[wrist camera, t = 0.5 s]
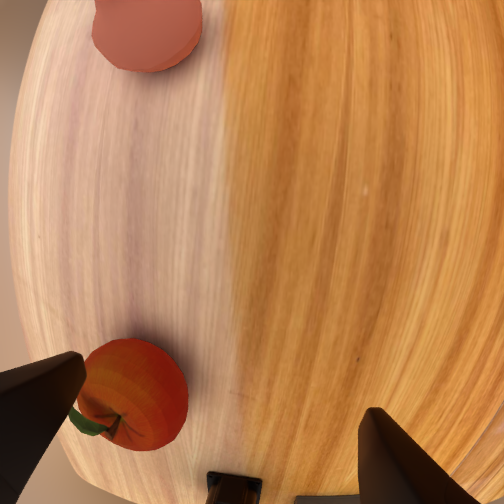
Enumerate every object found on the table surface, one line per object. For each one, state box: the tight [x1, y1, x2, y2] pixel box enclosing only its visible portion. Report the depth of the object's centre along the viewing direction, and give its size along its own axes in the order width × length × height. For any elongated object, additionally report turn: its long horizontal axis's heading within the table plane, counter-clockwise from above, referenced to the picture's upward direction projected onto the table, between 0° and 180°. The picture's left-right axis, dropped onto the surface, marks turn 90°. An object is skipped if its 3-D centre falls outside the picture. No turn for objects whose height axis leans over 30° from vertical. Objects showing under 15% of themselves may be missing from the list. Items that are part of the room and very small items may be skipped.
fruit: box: [68, 338, 188, 451], centre depth 20 cm, size 10×10×10 cm
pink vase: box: [92, 0, 202, 72], centre depth 13 cm, size 8×8×12 cm
